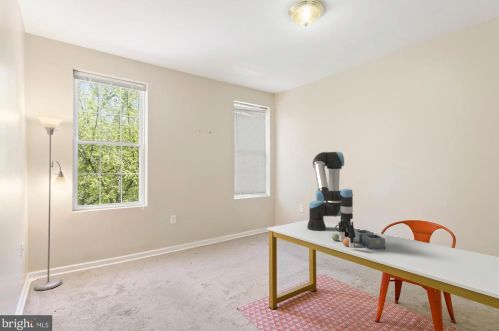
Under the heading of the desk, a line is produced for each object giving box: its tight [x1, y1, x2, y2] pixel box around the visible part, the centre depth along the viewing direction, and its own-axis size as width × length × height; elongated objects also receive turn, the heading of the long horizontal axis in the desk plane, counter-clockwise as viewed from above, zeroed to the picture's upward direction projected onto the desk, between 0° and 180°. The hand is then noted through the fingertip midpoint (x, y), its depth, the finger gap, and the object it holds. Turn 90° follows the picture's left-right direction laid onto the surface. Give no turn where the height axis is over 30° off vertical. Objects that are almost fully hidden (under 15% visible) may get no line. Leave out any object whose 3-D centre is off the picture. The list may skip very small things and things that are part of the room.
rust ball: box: [342, 237, 349, 247], centre depth 168 cm, size 5×5×5 cm
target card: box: [354, 240, 366, 249], centre depth 172 cm, size 16×6×1 cm, turn 3°
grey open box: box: [361, 233, 386, 250], centre depth 167 cm, size 10×10×6 cm
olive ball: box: [331, 233, 340, 241], centre depth 180 cm, size 5×5×5 cm
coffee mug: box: [335, 220, 350, 238], centre depth 192 cm, size 12×9×10 cm
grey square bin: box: [354, 229, 375, 244], centre depth 179 cm, size 10×10×6 cm
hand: (346, 244), depth 168 cm, fingers open, 13 cm apart
